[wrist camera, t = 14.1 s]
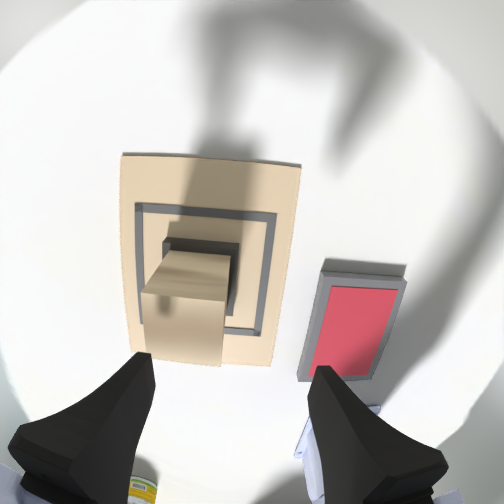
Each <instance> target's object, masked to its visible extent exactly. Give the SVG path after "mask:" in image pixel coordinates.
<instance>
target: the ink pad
mask: <svg viewBox="0 0 504 504" xmlns="http://www.w3.org/2000/svg"><path fill="white" fill-rule="evenodd" d="M406 284H407V281H406V280H405V279H404V278H402V277H399V276H385V275H370V274H357V273H343V272H330V271H320V276H319V281H318V286H317V291H316V296H315V300H314V305H313V309H312V314H311V318H310V323H309V327H308V331H307V335H306V339H305V344H304V348H303V352H302V356H301V360H300V363H299V367H298V371H297V378H298V382H312V380H313V377H314V374H315V370H316V367H317V366H319V365H330V366H331V367H332V368H333V369H334V371H335V372H336V373H337V374H338V375H339V377H340V378H341V379H342V380H343V381H353V380H369V379H371V378H372V376H373V374H374V371H375V369H376V367H377V364H378V362H379V360H380V357H381V355H382V352H383V350H384V347H385V345H386V342H387V340H388V337H389V334H390V332H391V329H392V326H393V324H394V321H395V318H396V315H397V312H398V309H399V306H400V303H401V300H402V297H403V294H404V291H405V288H406Z"/></svg>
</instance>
